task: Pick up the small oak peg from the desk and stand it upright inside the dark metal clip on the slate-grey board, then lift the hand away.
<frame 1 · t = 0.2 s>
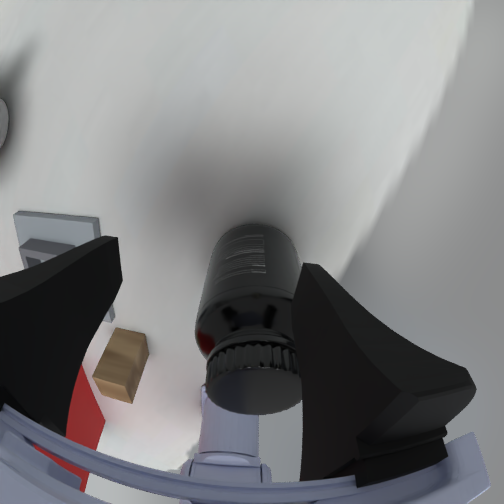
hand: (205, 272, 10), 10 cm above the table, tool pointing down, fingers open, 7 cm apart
teacup: (1, 113, 14), on the table
supplement bottle: (255, 259, 22), on the table
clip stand: (62, 264, 22), on the table
oak peg: (132, 341, 27), on the table
book: (72, 381, 34), on the table
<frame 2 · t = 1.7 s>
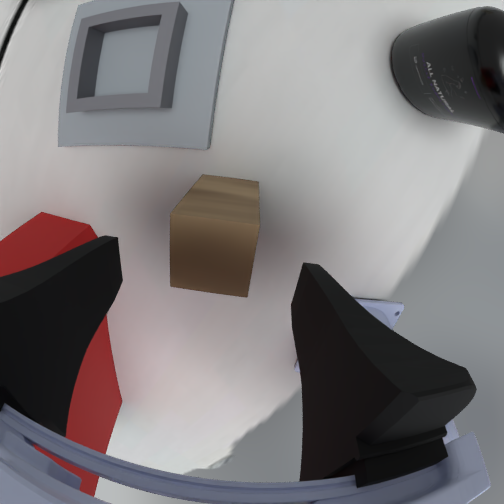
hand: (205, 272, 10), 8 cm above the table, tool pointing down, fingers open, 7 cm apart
supplement bottle: (428, 73, 12), on the table
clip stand: (136, 62, 13), on the table
oak peg: (227, 203, 17), on the table
book: (80, 331, 24), on the table
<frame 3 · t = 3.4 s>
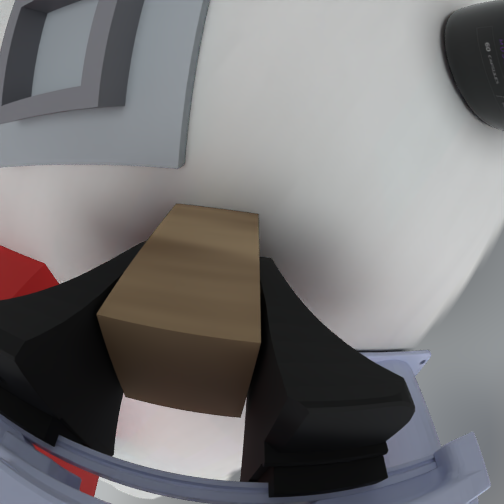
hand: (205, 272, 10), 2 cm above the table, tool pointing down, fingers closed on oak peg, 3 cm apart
supplement bottle: (482, 68, 7), on the table
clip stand: (85, 46, 7), on the table
oak peg: (213, 245, 12), on the table, touching gripper
book: (57, 370, 19), on the table
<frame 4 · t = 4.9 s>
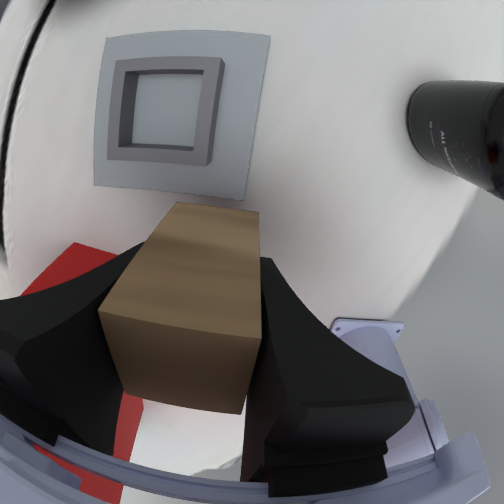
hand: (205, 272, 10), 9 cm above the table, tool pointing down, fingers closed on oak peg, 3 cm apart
supplement bottle: (438, 124, 15), on the table
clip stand: (172, 109, 15), on the table
oak peg: (213, 243, 12), point 7 cm above the table, touching gripper
book: (108, 348, 27), on the table
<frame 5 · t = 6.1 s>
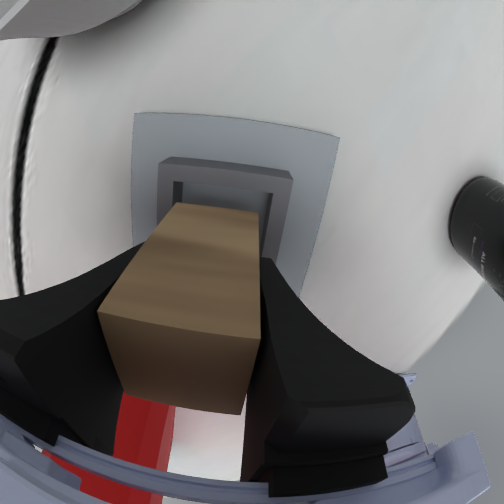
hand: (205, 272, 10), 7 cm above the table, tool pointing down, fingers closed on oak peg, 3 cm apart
supplement bottle: (474, 215, 16), on the table
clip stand: (224, 211, 16), on the table
oak peg: (213, 243, 12), point 4 cm above the table, touching gripper
book: (144, 399, 28), on the table
when the fingers open (4 cm above the table, at t = 6.9 s): oak peg drops 1 cm, resting on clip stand.
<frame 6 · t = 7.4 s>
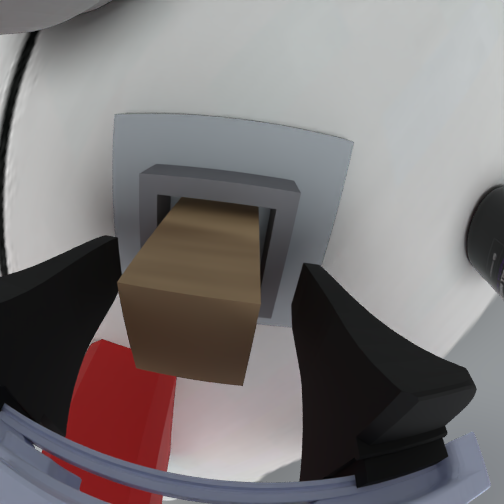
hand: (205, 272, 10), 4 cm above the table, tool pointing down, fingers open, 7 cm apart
supplement bottle: (491, 227, 14), on the table
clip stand: (219, 225, 14), on the table
oak peg: (216, 233, 13), point 1 cm above the table, touching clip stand
book: (139, 414, 26), on the table
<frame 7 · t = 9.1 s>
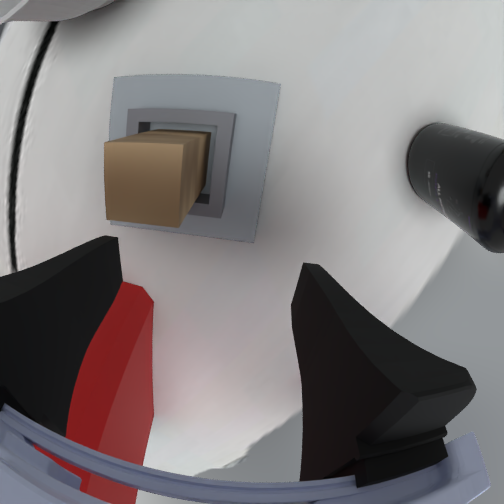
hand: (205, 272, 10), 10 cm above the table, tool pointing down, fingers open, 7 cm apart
supplement bottle: (436, 163, 17), on the table
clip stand: (185, 154, 17), on the table
oak peg: (181, 156, 16), point 1 cm above the table, touching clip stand
book: (123, 362, 29), on the table
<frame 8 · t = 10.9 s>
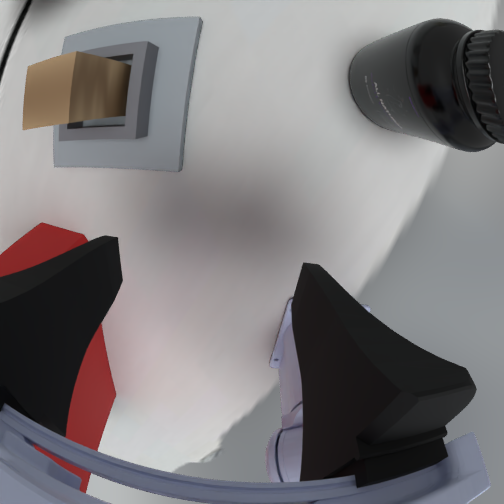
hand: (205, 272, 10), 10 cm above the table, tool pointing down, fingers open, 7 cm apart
supplement bottle: (389, 87, 15), on the table
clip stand: (117, 93, 15), on the table
oak peg: (111, 92, 14), point 1 cm above the table, touching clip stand
book: (77, 328, 27), on the table
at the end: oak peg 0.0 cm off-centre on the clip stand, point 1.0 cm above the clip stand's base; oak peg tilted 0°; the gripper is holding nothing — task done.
